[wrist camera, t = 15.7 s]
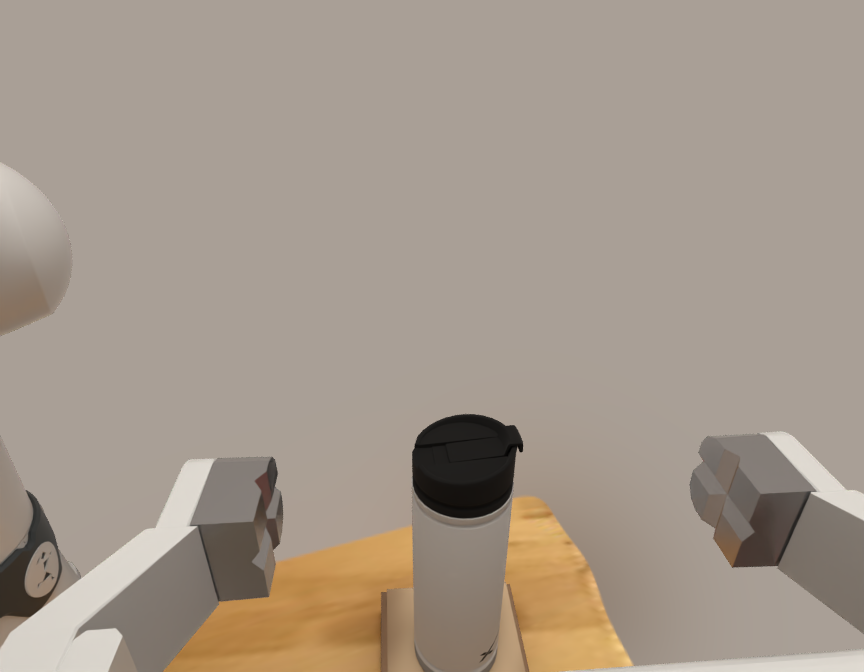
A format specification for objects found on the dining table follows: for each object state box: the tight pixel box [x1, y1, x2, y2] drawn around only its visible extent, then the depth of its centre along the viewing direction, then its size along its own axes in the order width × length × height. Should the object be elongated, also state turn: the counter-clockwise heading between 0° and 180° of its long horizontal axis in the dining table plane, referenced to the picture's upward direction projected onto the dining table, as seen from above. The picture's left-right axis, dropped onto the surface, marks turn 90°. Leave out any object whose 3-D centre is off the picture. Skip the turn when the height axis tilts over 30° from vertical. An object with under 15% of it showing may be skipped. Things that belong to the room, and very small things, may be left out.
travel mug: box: [412, 414, 523, 672], centre depth 38 cm, size 6×7×20 cm
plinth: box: [381, 582, 529, 672], centre depth 44 cm, size 11×11×4 cm
